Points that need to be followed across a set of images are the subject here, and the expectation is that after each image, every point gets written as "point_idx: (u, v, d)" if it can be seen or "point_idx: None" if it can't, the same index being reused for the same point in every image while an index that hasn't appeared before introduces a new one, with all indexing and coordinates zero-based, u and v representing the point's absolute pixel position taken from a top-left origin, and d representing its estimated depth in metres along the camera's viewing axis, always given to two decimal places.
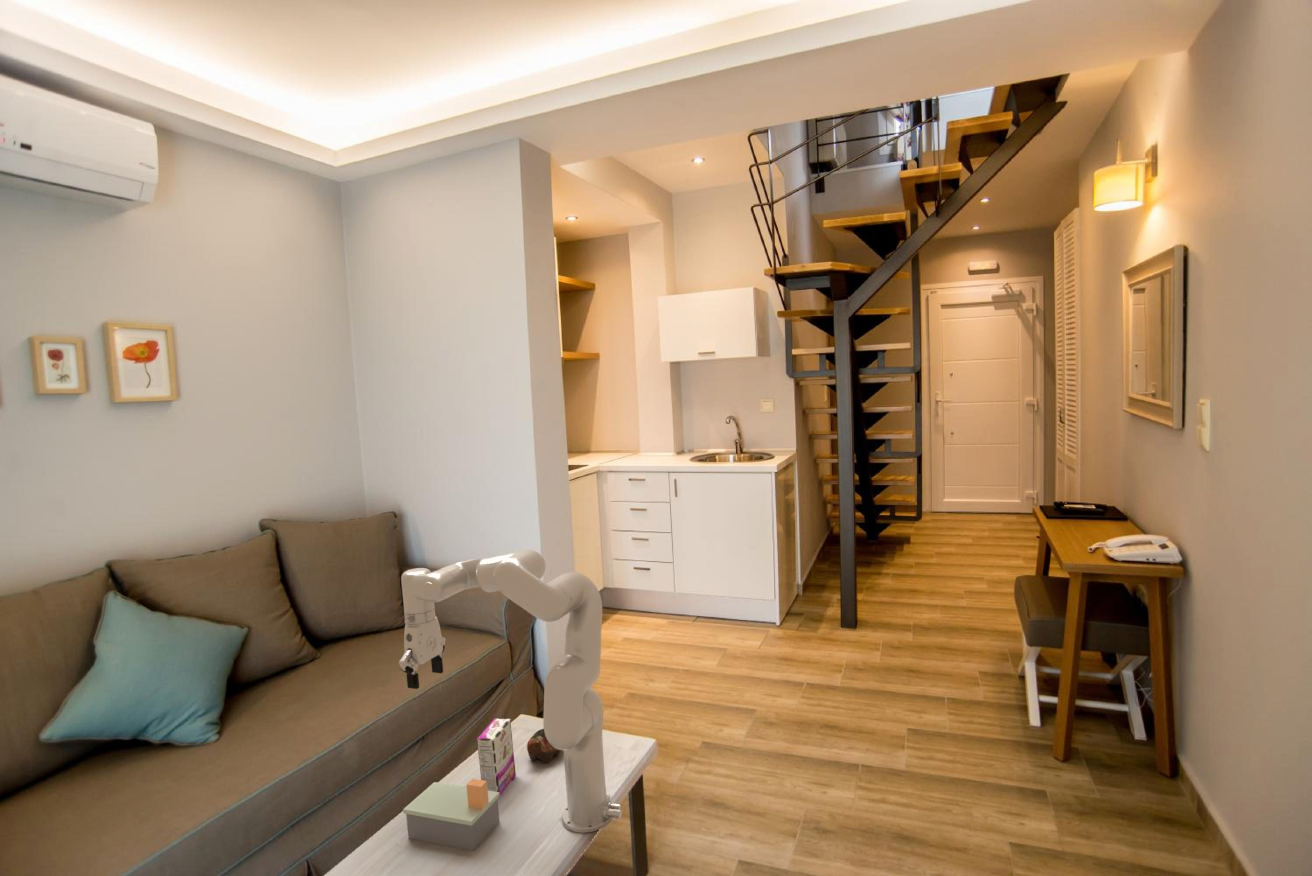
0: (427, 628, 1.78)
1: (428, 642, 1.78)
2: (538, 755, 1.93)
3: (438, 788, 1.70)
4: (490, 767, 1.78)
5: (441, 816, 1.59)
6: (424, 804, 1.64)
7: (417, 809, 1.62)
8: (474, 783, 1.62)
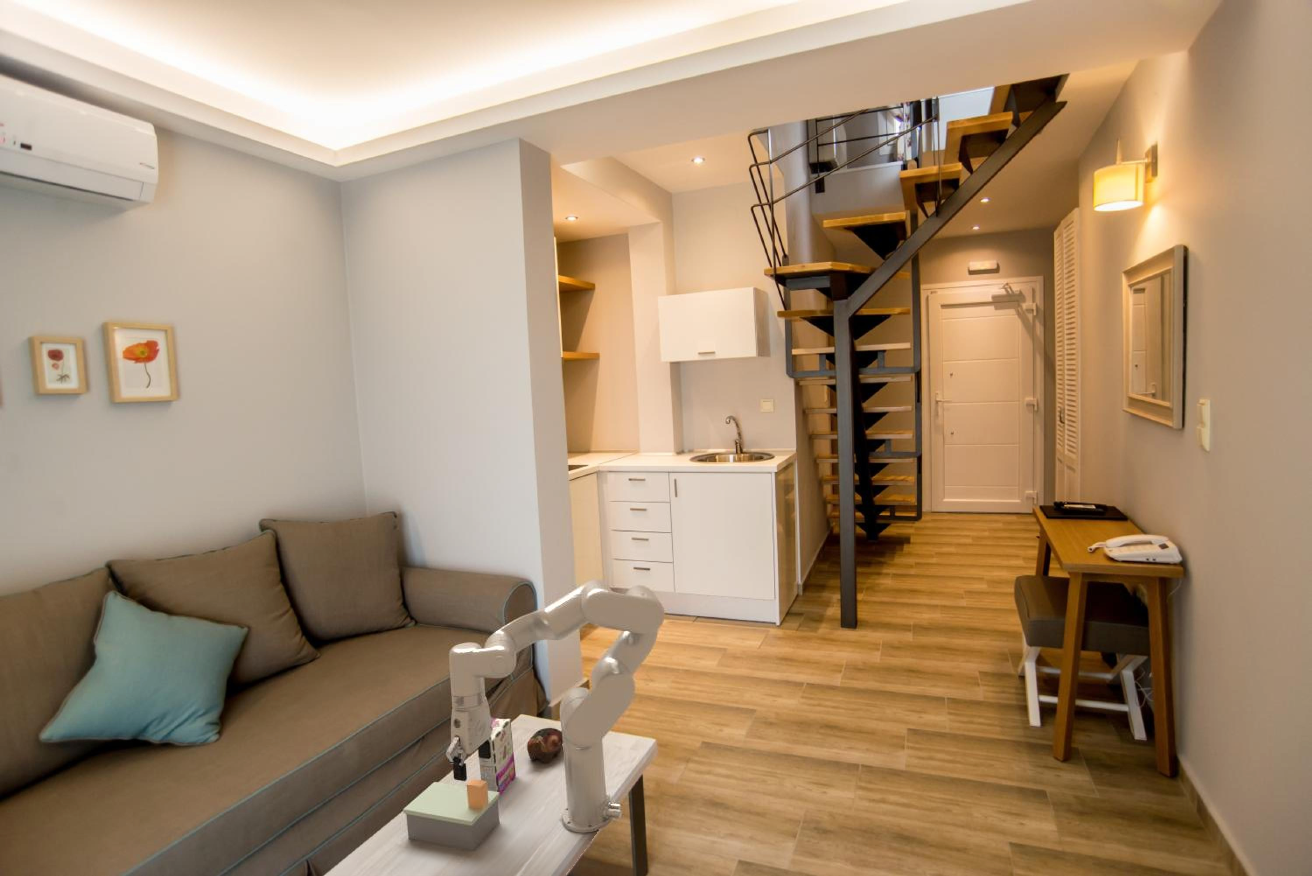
0: (476, 712, 1.59)
1: (477, 727, 1.59)
2: (538, 755, 1.93)
3: (438, 788, 1.70)
4: (490, 767, 1.78)
5: (441, 816, 1.59)
6: (424, 804, 1.64)
7: (417, 809, 1.62)
8: (474, 783, 1.62)
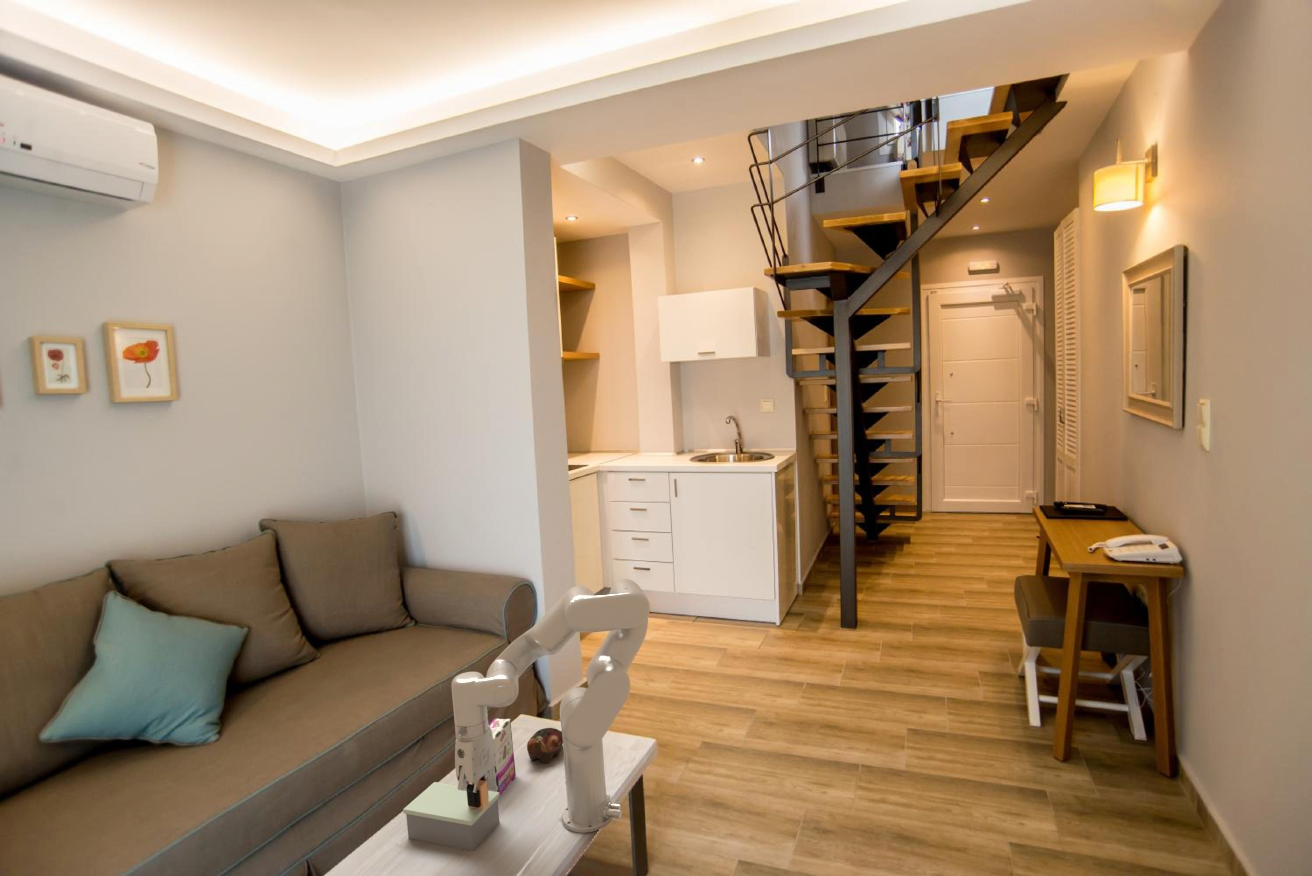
0: (480, 741, 1.59)
1: (481, 757, 1.60)
2: (538, 755, 1.93)
3: (438, 788, 1.70)
4: None
5: (441, 816, 1.59)
6: (424, 804, 1.64)
7: (417, 809, 1.62)
8: None
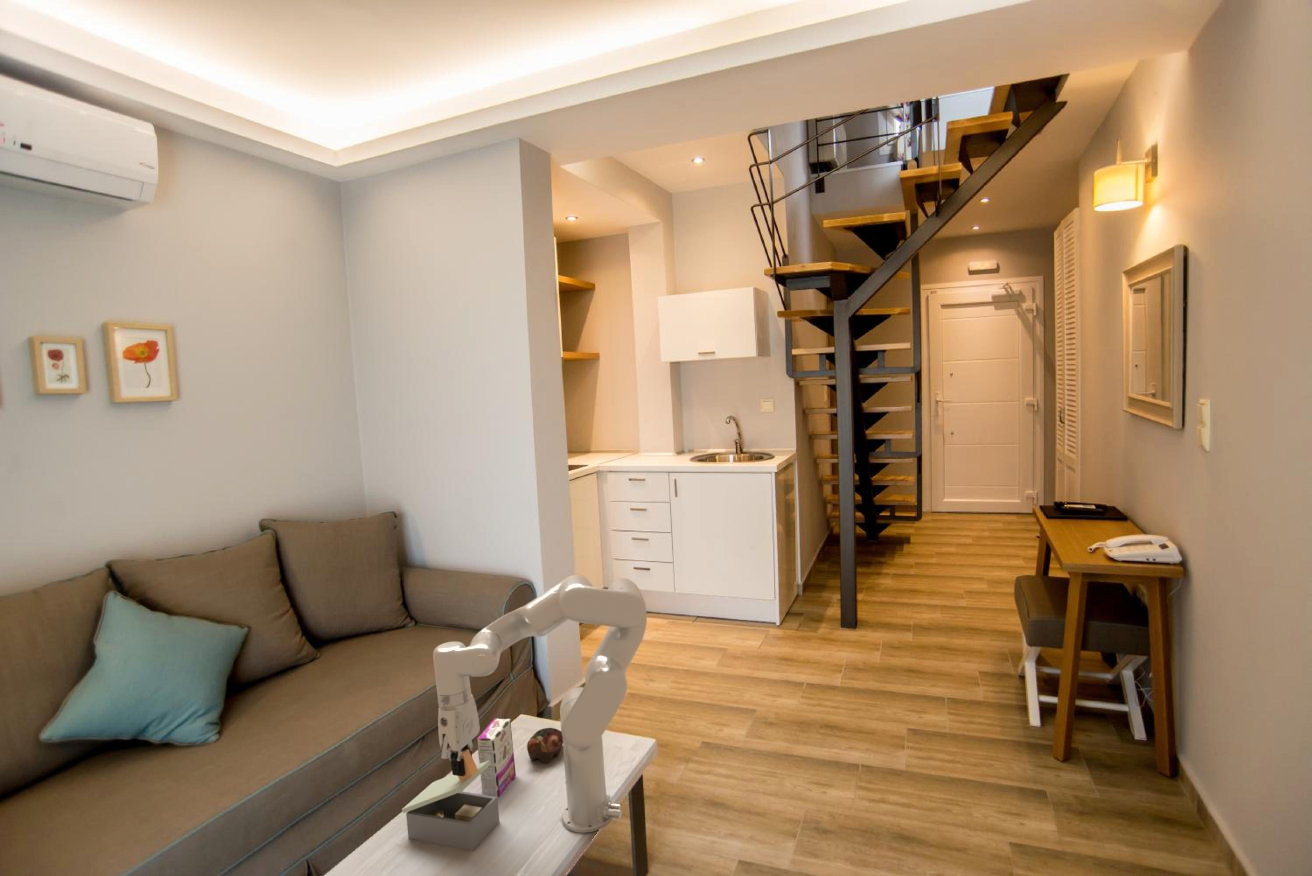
0: (463, 710, 1.60)
1: (464, 725, 1.60)
2: (538, 755, 1.93)
3: (435, 783, 1.71)
4: (490, 767, 1.78)
5: (434, 796, 1.59)
6: (421, 797, 1.64)
7: (414, 803, 1.62)
8: None
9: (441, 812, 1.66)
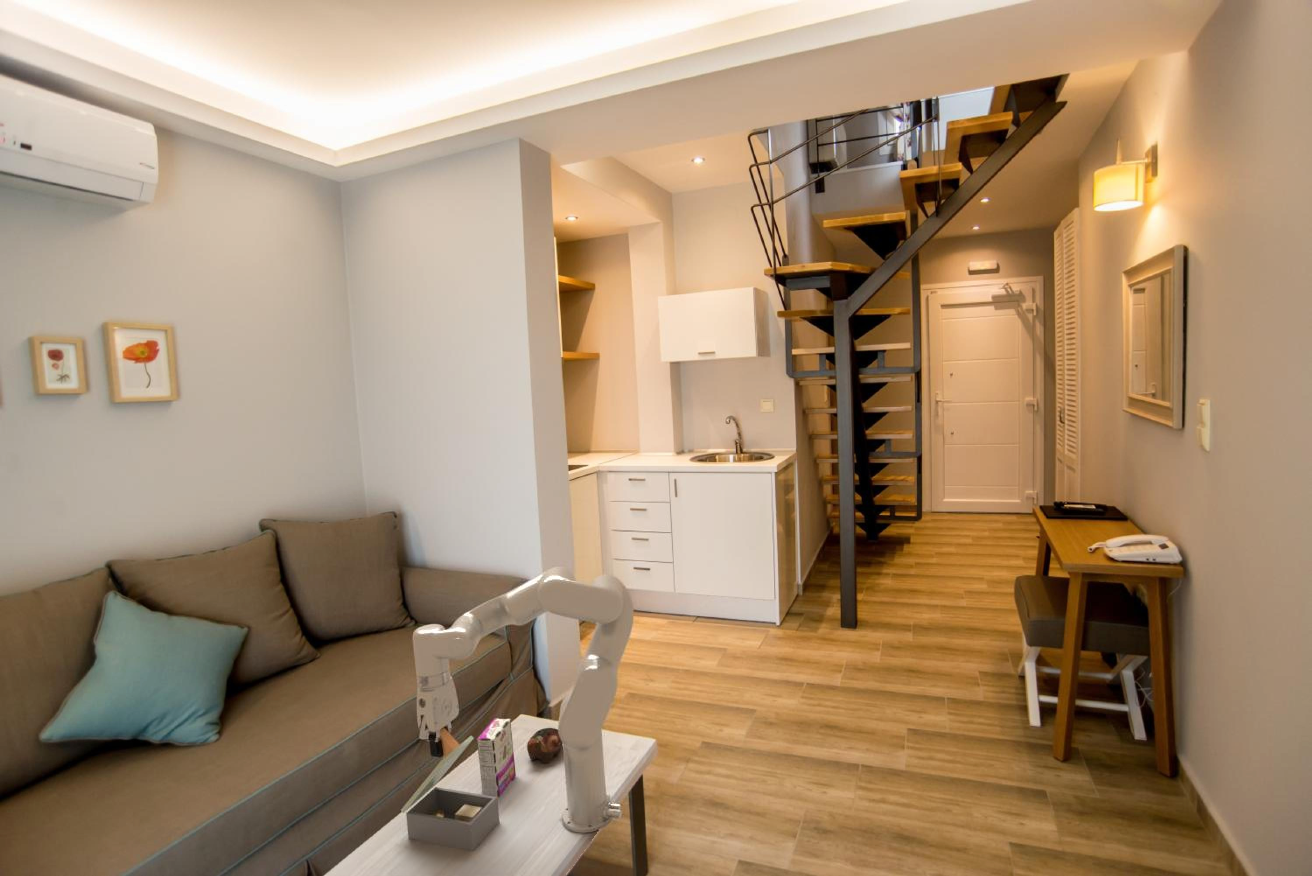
0: (441, 692, 1.62)
1: (443, 707, 1.62)
2: (538, 755, 1.93)
3: None
4: (490, 767, 1.78)
5: (423, 782, 1.60)
6: None
7: (410, 799, 1.63)
8: None
9: (441, 812, 1.66)
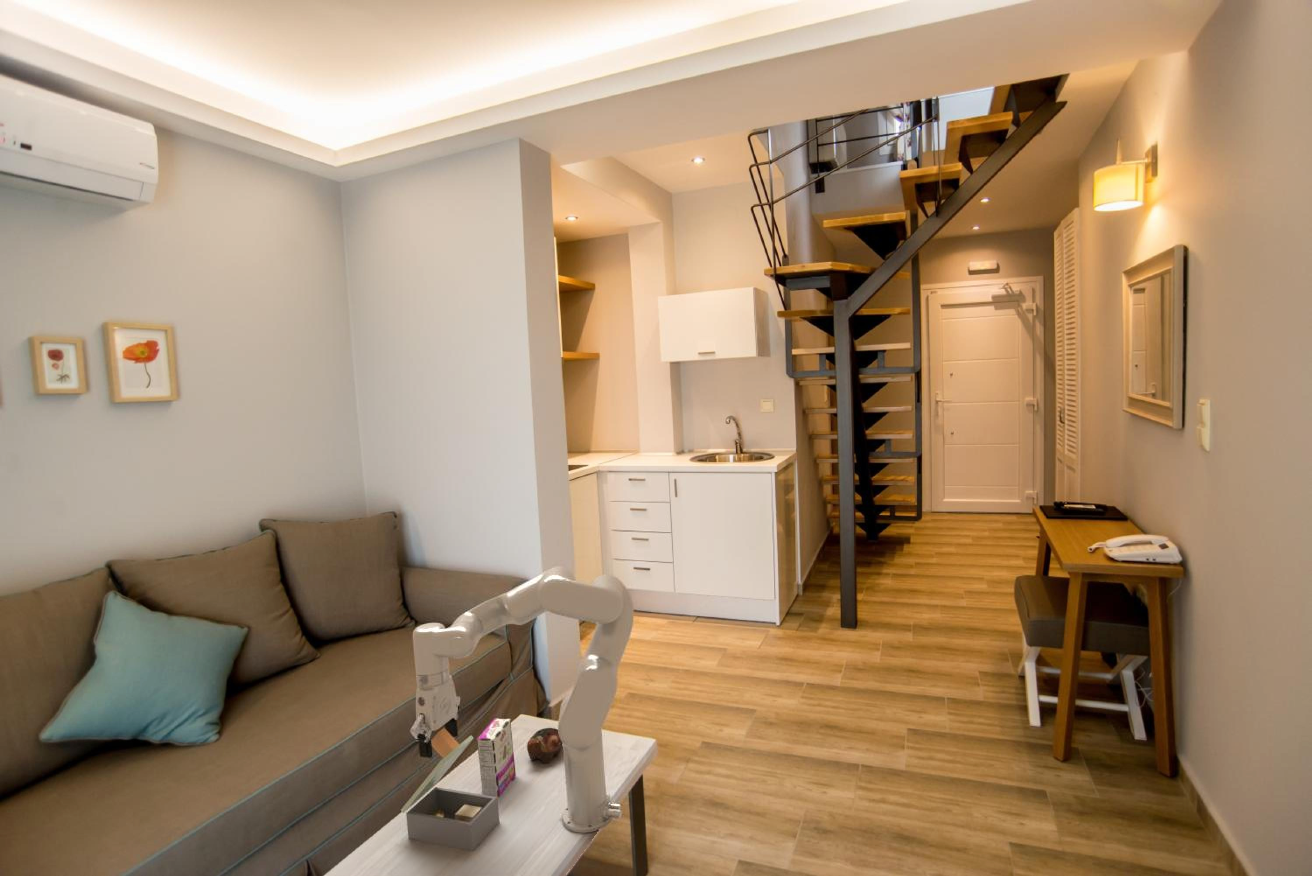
0: (441, 690, 1.62)
1: (442, 705, 1.62)
2: (538, 755, 1.93)
3: None
4: (490, 767, 1.78)
5: None
6: None
7: (410, 799, 1.63)
8: (434, 737, 1.64)
9: (441, 812, 1.66)
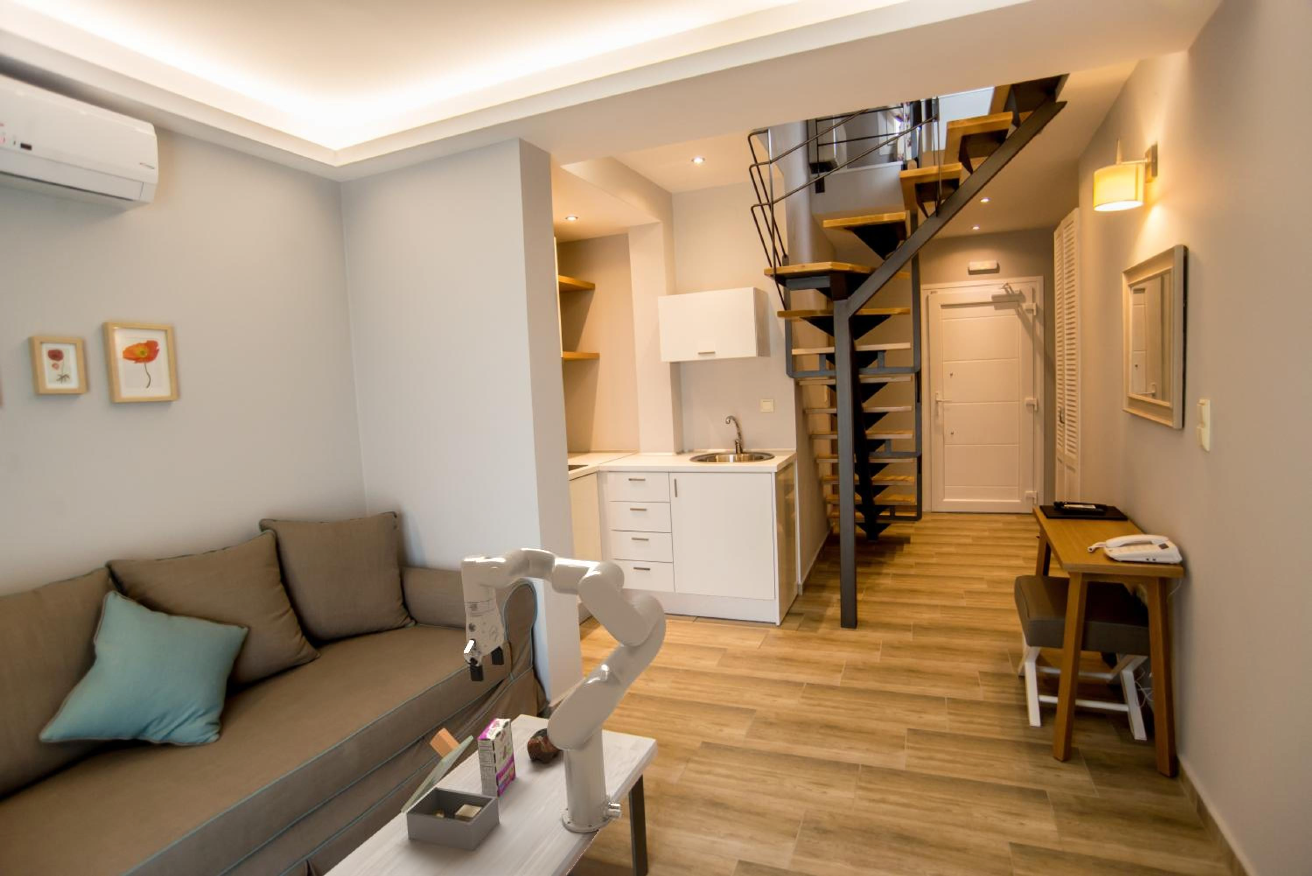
0: (489, 617, 1.69)
1: (491, 632, 1.69)
2: (538, 755, 1.93)
3: None
4: (490, 767, 1.78)
5: None
6: None
7: (410, 799, 1.63)
8: (434, 737, 1.64)
9: (441, 812, 1.66)
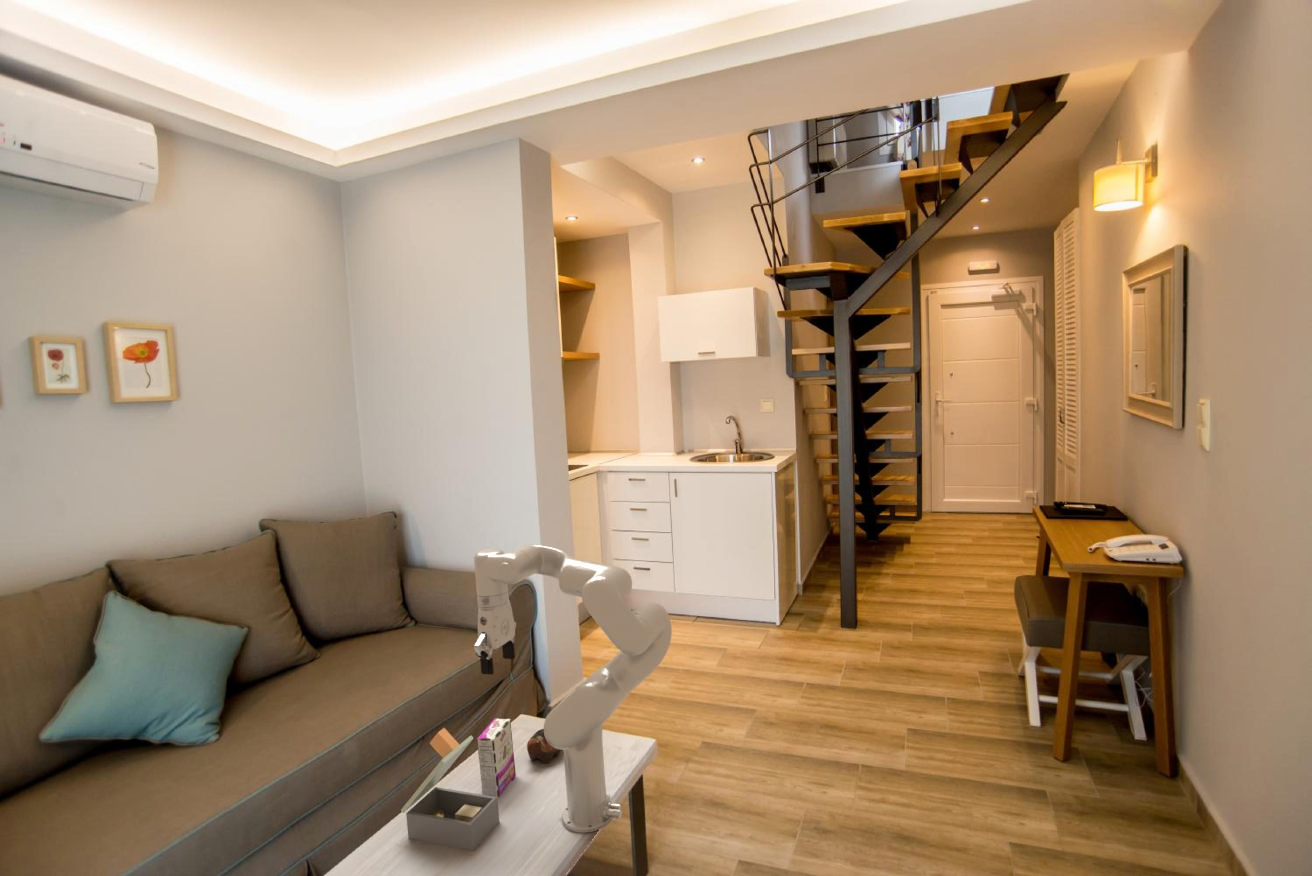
0: (501, 612, 1.70)
1: (502, 626, 1.71)
2: (538, 755, 1.93)
3: None
4: (490, 767, 1.78)
5: None
6: None
7: (410, 799, 1.63)
8: (434, 737, 1.64)
9: (441, 812, 1.66)
